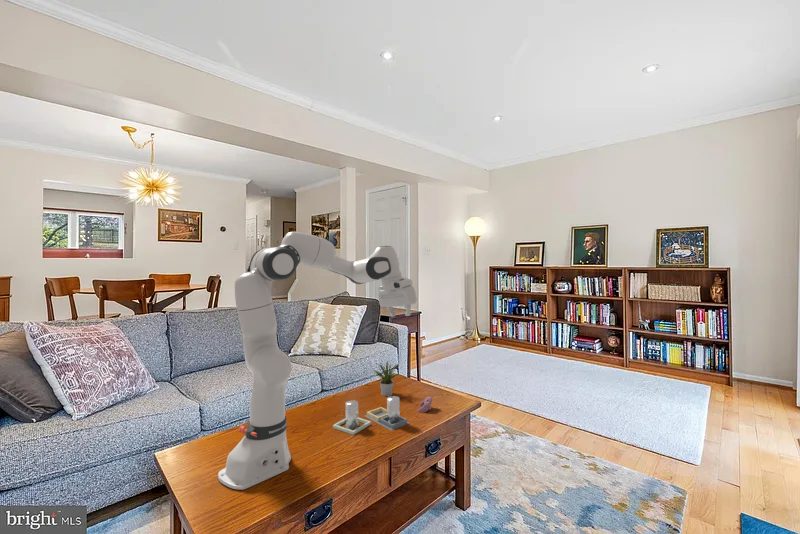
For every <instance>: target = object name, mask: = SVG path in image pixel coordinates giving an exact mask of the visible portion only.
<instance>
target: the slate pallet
mask: <svg viewBox="0 0 800 534" xmlns="http://www.w3.org/2000/svg"><path fill="white" fill-rule="evenodd" d="M364 418H367V419H369V421H371V422H375V423H376V424H378V425H379V426H381V427H383V428H385V429H387V430H389V431H391V432H392V431H394V430H396V429H399V428H401V427H404V426H407V425H409V424H410V423H411V422H409V421H408V419H407V418H405V417H403V416H401V415H400V421H399V422H397V423H394V424H391V423H389V422H387V408H384V407H382V406H379V407H378V408H377V407H376V408H375V409H374V408H373V409H371V410H368V411H366V414H365V415H364Z"/></svg>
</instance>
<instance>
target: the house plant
mask: <svg viewBox="0 0 800 534" xmlns="http://www.w3.org/2000/svg"><path fill="white" fill-rule="evenodd" d="M385 364H386V365H385V366H384V365H382V363H380V364H378V363H377V366H379V368H380V369H381V370H380V369H379V368H378V367H377V366H375V368H377V369H378V370H379V371H380V372H379V371H378V370H375V369H372V371H373V372H374V373H376V374H375V375H374V377H377V376H378V377H380V378H381V380H380V381H379V386H380V393H381V396H383V397H390V396H393V393H394V392H393V391H394V390H393V389H394V386H395V385H394V384H395V382H394V380H392V379H393V378H395V379H396V378H397V373H395V372H394V371H395V369H396V368H397V366H398V365H400V364H401V362H399V363H396V364H394V366H392V364H390V363H389V362H388V360H387V361H386V363H385Z"/></svg>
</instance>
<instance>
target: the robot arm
mask: <svg viewBox="0 0 800 534" xmlns="http://www.w3.org/2000/svg"><path fill="white" fill-rule="evenodd" d="M396 252H397V251H396V250H395V247H394V246H392V245H381V246H378V247H376V248H375V250H374V252H372V253H371V254H370V255H369V256H368V257H366V258H362V259H359V260H357V259H356V260H353V261H352V260H351V261H350V260H347V259H345V258H342V257H340V256H337V254H336V247H335V244H333V242H331V241H329V240H328V239H325V238H323V237H320V236H317V235H313V234H311V233H308V232H307V233H306V232H301V231H290V232H287V233H286V234H285V235H284V237H283V239H282V240H281V244H280V245H279V246H276V247H273V246H271V247H265V248H261V249H259V250H257V251H255V252H254V253H253V255H252V256H251V259H250V262H249V265H248V268H247V270H246V271H247V272H244V273H242V274H241V275H239V276H238V277H237V278H236V279H235V281H234V299H235V306H236V312H237V316H238V319H239V320H238V321H239V325H240V329H241V330H240V331H241V336H242V348H243V354H244V361H245V366H246V368H247V369H248V370H249V371H250V372H251V374H252V380H253V381H252V389H251V394H250V396H249V397H250V398H249V421H248V424H247V427H246V426H244V425H241V426H239V428H238V432H239V433H241V434H245V435H244V437H242V438H241V440H240V441H239V442H238V444H237V445H235V447H234V448H233V449H232V450H231V451H230V452H229V453H228V456H227V458H226V461H225V463H226V464H225V467H224V468H222V469H221V470H219V471H218V473H217V478H218V481H219V482H220V483H221V484H222V485H224V486H225V487H228V488H230V489H234V490H247V489H248V488H251V487H253V486H255V485H257V484H260V483H262V482H264V481H266V480H268V479H271V478H273V477H275V476H277V475H279V474H281V473H282V474H283V472H286V471H288V470H289V469H290V465H289V463H290V462H291V460H292V456H291V452H290V449H289V446H288V445H289V444H288V440H287V427H288V426H287V425H288V424H287V423H288V422H287V421H288V418H287V416H286V392H287V391H286V390H287V385H288V379H289V377H290V375H291V373H292V364H291V361H290V358H289V357H288V355H287V354H286V353H285V352H284V351H283V350H281V349H280V347H279V346H278V339H277V328H278V322H277V317H276V313H275V312H276V311H275V307H274V303H273V297H272V293H271V291H272V285H273V283H274V281H275V282H276V281H277V282H279V281H285V280H287V279H289V278H291V277H292V276H293V275H294V274H295V271H296V270H297V267H299V266H298V265H299V264H300V265H301V264H302V265H304V266H308V267H312V268H316V269H322V270H326V271H329V272H332V273H335V274H337V275H341V276H344V277H345V278H347V279H348V280H349V281H350V282H352V283H353V284H356V285H362V284H365V283H371V282H375V281H379V280H380V281H381V285H379V287H378V289H377V291H378V292H377V296H378V302H379V306H380V307H381V308H386V310H387V312H388V313H389V316H390V317H391V318H394V317H396V316H397V315H396V312H395V311H394V310H393V307H399V306H400V307H401V306H404V308H405V311H404V314H405V317H410V316H411V314H412V313H411V308H412V305H414V304H416V303H417V300H418V299H417V294H416V291H415V287H414V286H413V280H412V279H410V278H407V277H404V276H403V275H402V272H401V271H400V263H399V258H398V255H397V253H396Z"/></svg>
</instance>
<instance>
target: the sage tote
mask: <svg viewBox="0 0 800 534" xmlns="http://www.w3.org/2000/svg"><path fill="white" fill-rule="evenodd" d="M371 422H372V420H367V419H364V418H361V417H358V423H362V425H360V426H358V427H357V428H355V429H348V428H346V427H343V426H341V425H343V424H346V417H344V418H343V419H342V420H340V421H338V422H336V423H335V424H332V429H335V430H338V431H341V432H344V433H346V434H348V435H352V436H354V435H356V434H357V433H359V432H361V431H362V430H364V429H366V428H367V427H369V426H371V424H372V423H371Z"/></svg>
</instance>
